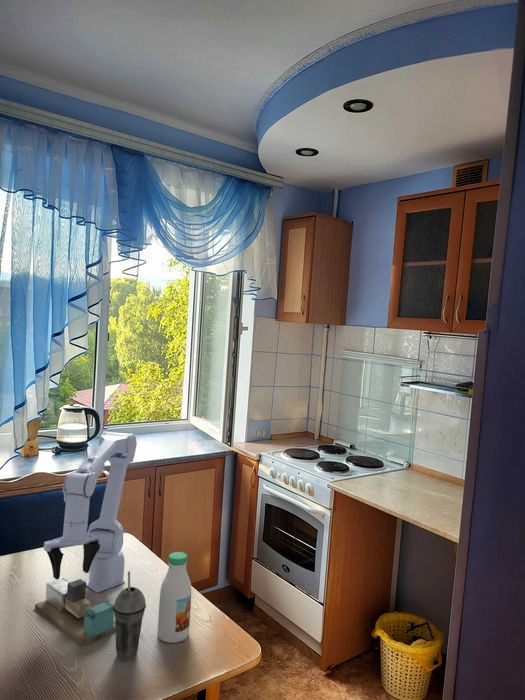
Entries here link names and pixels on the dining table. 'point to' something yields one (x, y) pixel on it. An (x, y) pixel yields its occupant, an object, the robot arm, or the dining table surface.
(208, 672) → the dining table surface
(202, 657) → the dining table surface
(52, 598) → the sleeve
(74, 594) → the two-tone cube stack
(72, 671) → the dining table surface
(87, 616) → the socket
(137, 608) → the beverage cup
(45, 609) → the base board
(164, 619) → the milk bottle
